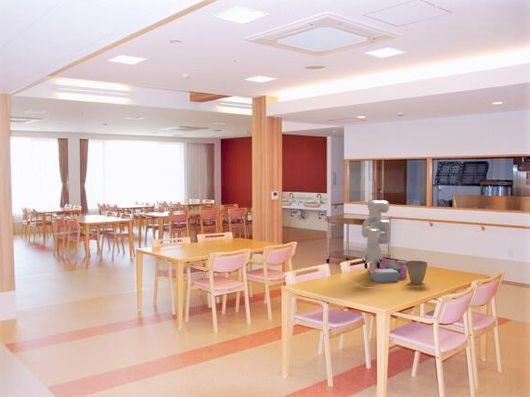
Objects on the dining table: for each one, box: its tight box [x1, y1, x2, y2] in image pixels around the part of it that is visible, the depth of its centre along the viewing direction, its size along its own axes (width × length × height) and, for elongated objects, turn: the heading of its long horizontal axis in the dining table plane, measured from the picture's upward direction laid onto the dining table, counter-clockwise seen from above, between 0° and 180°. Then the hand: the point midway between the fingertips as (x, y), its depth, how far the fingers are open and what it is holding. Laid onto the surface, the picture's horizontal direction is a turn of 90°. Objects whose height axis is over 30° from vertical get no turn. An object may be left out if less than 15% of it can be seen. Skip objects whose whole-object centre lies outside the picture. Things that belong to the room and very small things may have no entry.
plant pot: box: [406, 260, 428, 285], centre depth 372 cm, size 15×15×16 cm
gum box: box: [378, 256, 408, 279], centre depth 399 cm, size 24×8×14 cm, turn 41°
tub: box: [370, 272, 399, 283], centre depth 381 cm, size 11×17×7 cm, turn 103°
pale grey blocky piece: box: [368, 262, 398, 274], centre depth 380 cm, size 11×20×8 cm, turn 103°
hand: (372, 268), depth 378 cm, fingers open, 9 cm apart
